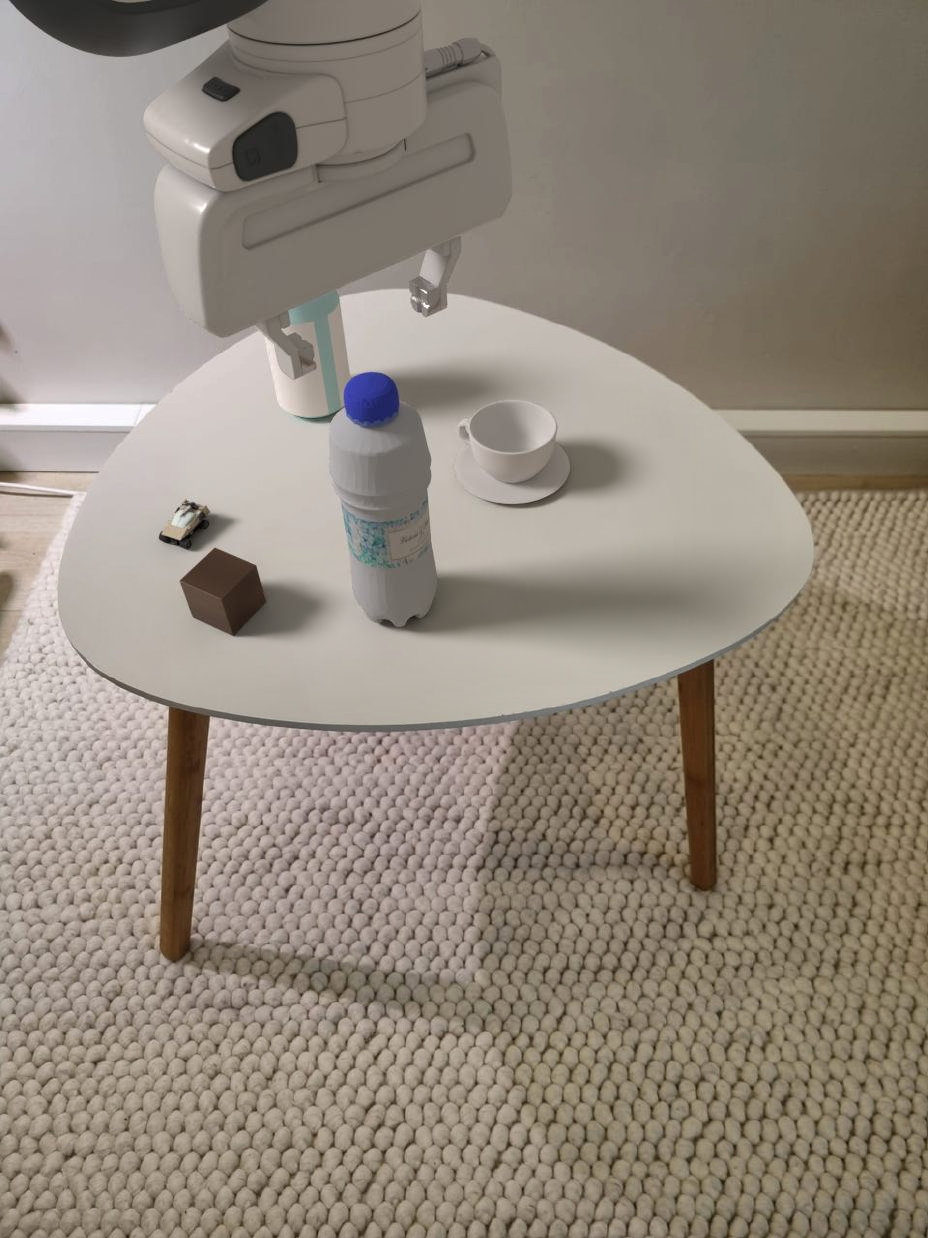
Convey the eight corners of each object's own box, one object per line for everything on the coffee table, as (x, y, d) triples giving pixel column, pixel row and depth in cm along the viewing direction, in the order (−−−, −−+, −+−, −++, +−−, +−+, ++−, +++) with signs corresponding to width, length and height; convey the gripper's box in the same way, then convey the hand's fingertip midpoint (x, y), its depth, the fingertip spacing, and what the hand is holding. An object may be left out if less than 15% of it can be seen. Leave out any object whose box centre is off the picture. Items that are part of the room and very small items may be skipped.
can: (265, 397, 91) (239, 280, 82) (328, 370, 93) (310, 254, 84) (302, 432, 87) (279, 314, 78) (367, 403, 89) (352, 285, 81)
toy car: (160, 542, 78) (153, 524, 76) (189, 512, 80) (183, 493, 79) (187, 551, 77) (180, 532, 75) (215, 519, 79) (209, 501, 78)
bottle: (403, 650, 69) (375, 426, 54) (335, 611, 72) (291, 387, 57) (459, 595, 73) (447, 370, 58) (392, 560, 75) (364, 336, 61)
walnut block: (233, 636, 71) (221, 600, 68) (192, 617, 72) (178, 580, 69) (266, 601, 73) (256, 565, 70) (226, 583, 74) (214, 546, 71)
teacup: (587, 452, 84) (590, 407, 80) (540, 521, 78) (542, 477, 74) (485, 423, 87) (484, 379, 83) (433, 487, 81) (430, 443, 78)
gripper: (459, 13, 51) (468, 258, 61) (108, 123, 43) (187, 384, 53) (539, 41, 48) (534, 295, 58) (175, 167, 39) (245, 436, 50)
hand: (366, 339), depth 55 cm, fingers open, 8 cm apart
